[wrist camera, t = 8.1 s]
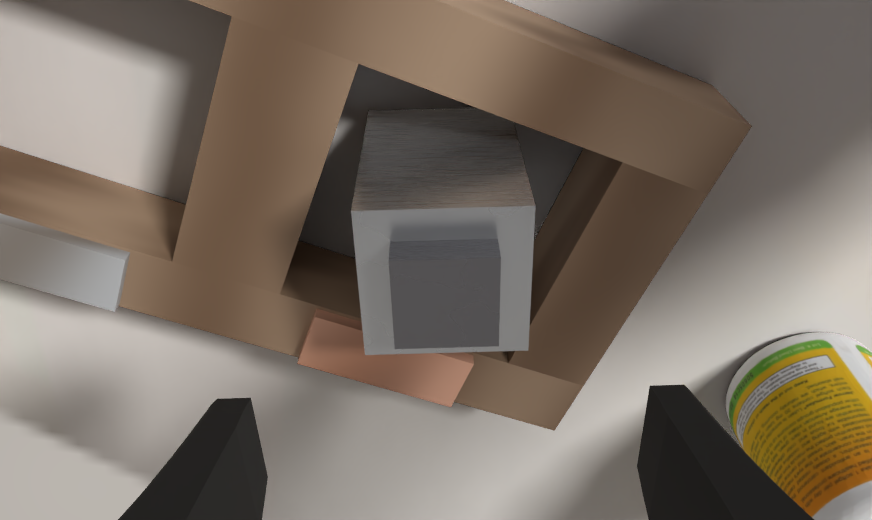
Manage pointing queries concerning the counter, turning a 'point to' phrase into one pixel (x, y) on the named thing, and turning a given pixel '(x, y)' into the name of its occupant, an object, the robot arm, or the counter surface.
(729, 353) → the counter surface
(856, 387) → the supplement bottle
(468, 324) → the plug
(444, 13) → the socket board
